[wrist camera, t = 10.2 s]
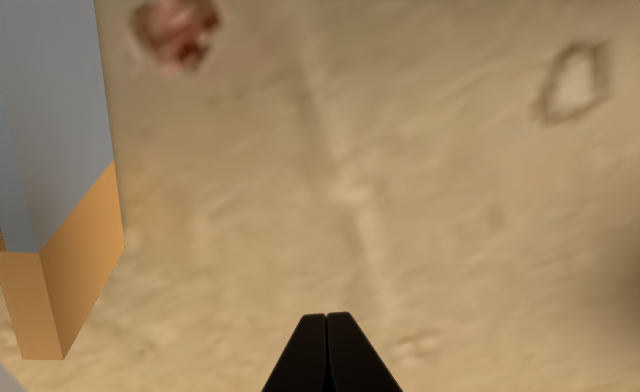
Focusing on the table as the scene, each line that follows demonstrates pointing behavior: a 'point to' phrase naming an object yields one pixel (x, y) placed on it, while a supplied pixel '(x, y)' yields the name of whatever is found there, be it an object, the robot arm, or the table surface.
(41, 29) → the side door
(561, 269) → the table surface
